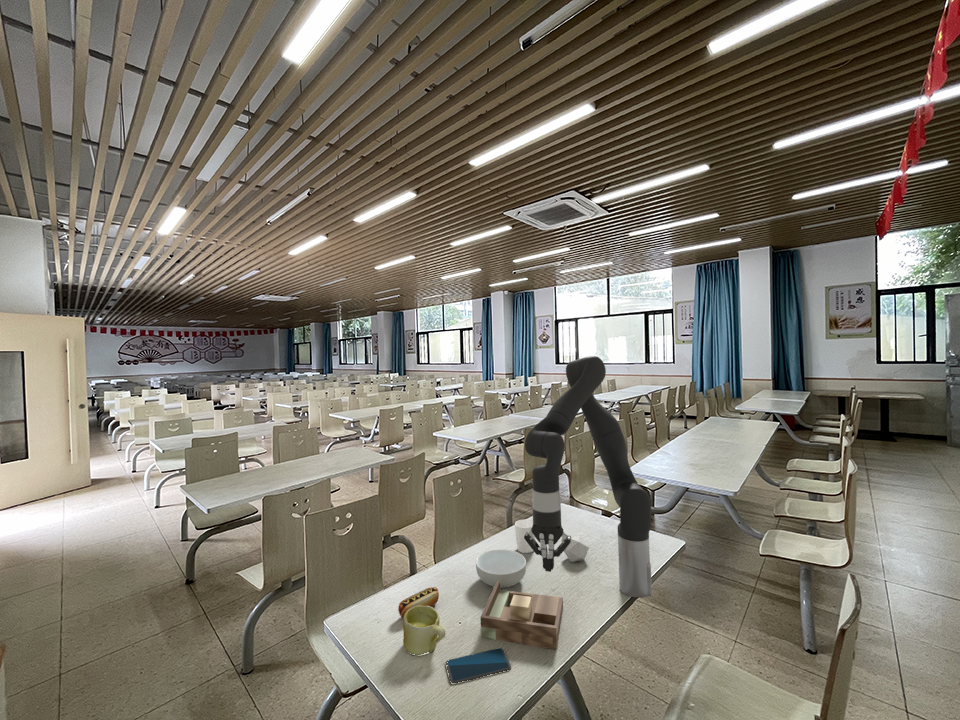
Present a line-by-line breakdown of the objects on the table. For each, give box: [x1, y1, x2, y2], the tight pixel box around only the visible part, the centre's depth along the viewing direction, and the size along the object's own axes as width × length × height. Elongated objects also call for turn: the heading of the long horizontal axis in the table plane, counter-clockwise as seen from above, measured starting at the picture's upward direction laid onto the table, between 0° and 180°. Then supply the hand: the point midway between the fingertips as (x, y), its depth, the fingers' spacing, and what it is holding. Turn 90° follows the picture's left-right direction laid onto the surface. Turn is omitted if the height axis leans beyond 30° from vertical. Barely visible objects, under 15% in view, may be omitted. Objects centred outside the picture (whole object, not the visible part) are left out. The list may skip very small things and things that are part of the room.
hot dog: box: [397, 586, 440, 619], centre depth 125 cm, size 5×13×5 cm, turn 132°
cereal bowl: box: [475, 548, 527, 589], centre depth 139 cm, size 17×17×7 cm
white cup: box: [514, 518, 536, 554], centre depth 161 cm, size 8×8×10 cm
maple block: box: [510, 595, 532, 622], centre depth 115 cm, size 5×5×5 cm
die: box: [563, 535, 590, 563], centre depth 152 cm, size 8×9×10 cm
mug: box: [402, 605, 447, 656], centre depth 109 cm, size 12×10×10 cm
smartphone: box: [445, 647, 512, 683], centre depth 102 cm, size 8×15×1 cm, turn 105°
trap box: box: [480, 581, 564, 650], centre depth 118 cm, size 20×18×6 cm
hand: (548, 570), depth 112 cm, fingers closed
